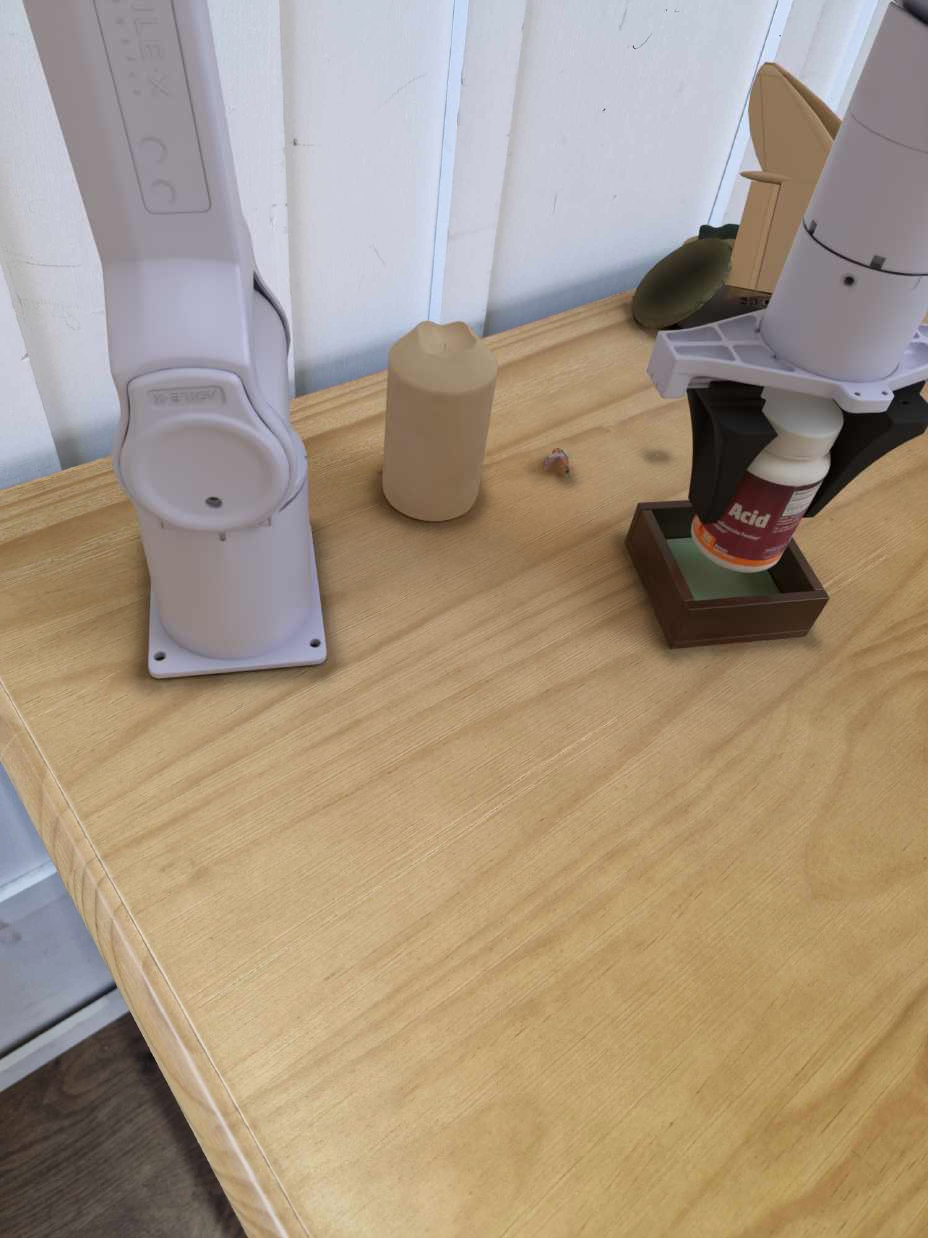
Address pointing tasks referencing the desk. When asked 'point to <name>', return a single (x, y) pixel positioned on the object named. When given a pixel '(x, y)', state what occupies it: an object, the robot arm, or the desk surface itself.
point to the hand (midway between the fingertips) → (750, 507)
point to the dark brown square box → (717, 585)
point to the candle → (437, 420)
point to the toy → (770, 192)
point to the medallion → (682, 282)
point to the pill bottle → (774, 484)
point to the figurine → (558, 461)
